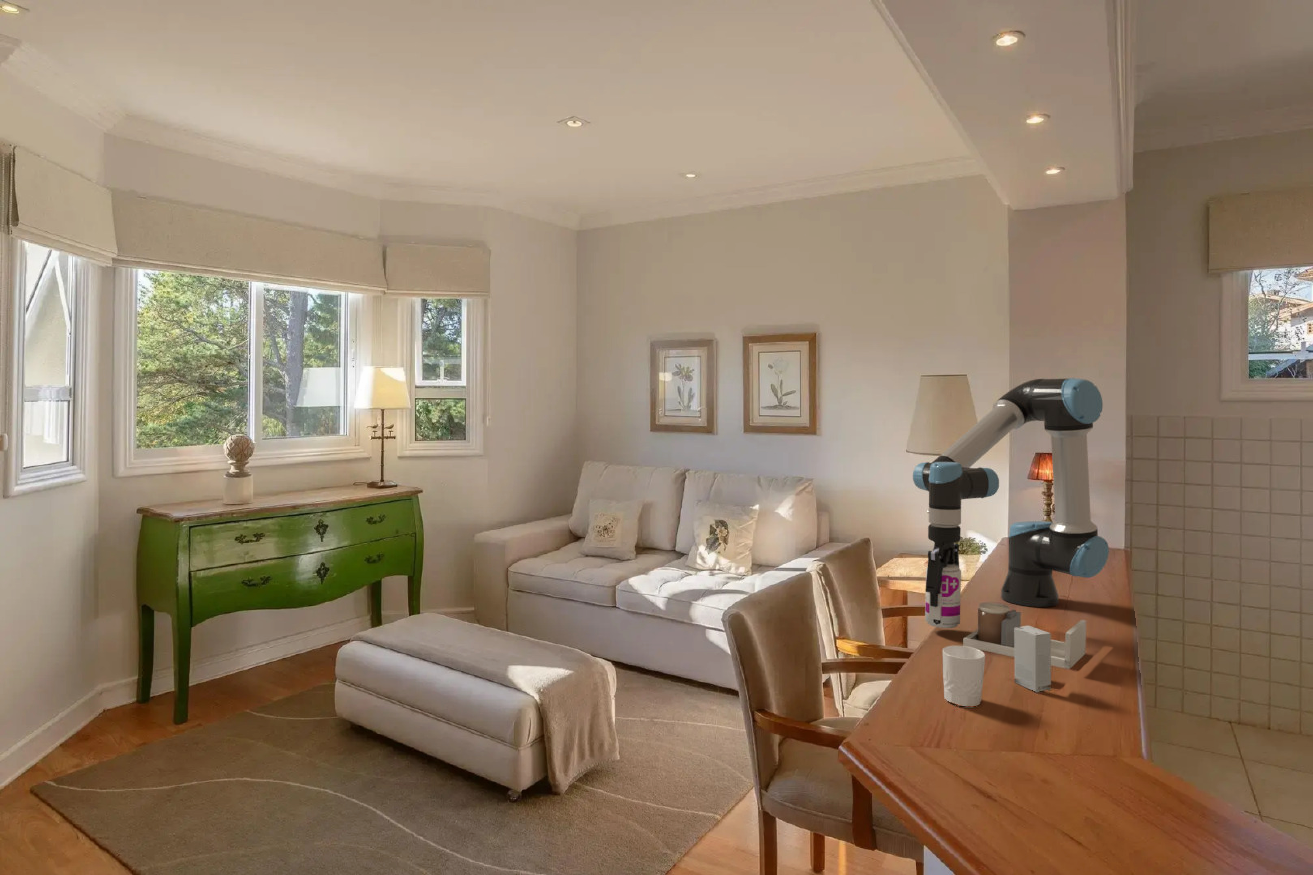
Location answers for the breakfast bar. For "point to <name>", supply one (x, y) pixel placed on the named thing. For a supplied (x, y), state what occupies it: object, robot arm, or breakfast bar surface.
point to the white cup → (963, 675)
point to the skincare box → (1032, 658)
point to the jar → (991, 621)
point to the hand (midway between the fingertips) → (942, 614)
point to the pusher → (1010, 628)
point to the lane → (1060, 651)
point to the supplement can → (947, 598)
